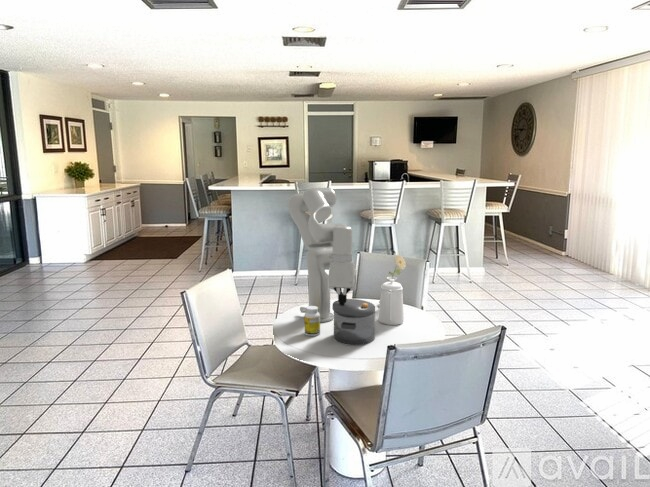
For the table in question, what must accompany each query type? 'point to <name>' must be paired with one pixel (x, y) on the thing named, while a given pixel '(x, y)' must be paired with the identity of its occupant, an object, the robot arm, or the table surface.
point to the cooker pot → (354, 329)
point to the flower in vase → (400, 264)
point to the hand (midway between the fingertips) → (342, 303)
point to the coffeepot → (391, 303)
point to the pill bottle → (312, 321)
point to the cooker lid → (354, 308)
